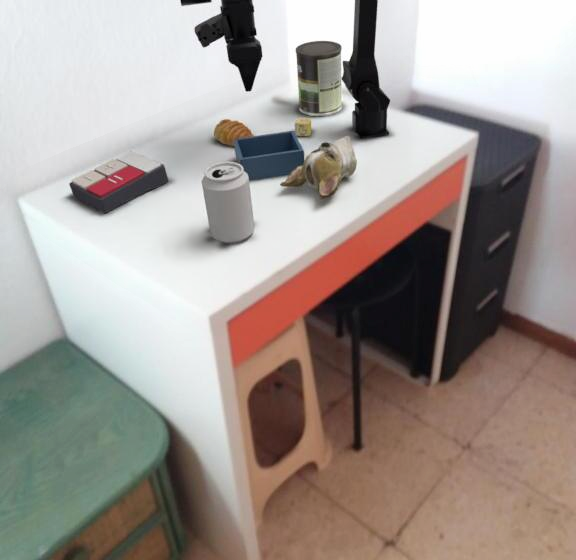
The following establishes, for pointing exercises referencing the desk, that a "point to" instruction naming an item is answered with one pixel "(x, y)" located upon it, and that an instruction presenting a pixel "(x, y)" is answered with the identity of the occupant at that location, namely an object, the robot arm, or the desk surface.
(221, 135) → the pastry
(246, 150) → the blue open box
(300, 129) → the alphabet block
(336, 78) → the coffee can
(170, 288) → the desk surface
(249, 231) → the can
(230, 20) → the robot arm
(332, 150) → the ceramic sculpture
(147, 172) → the multicoloured piece
